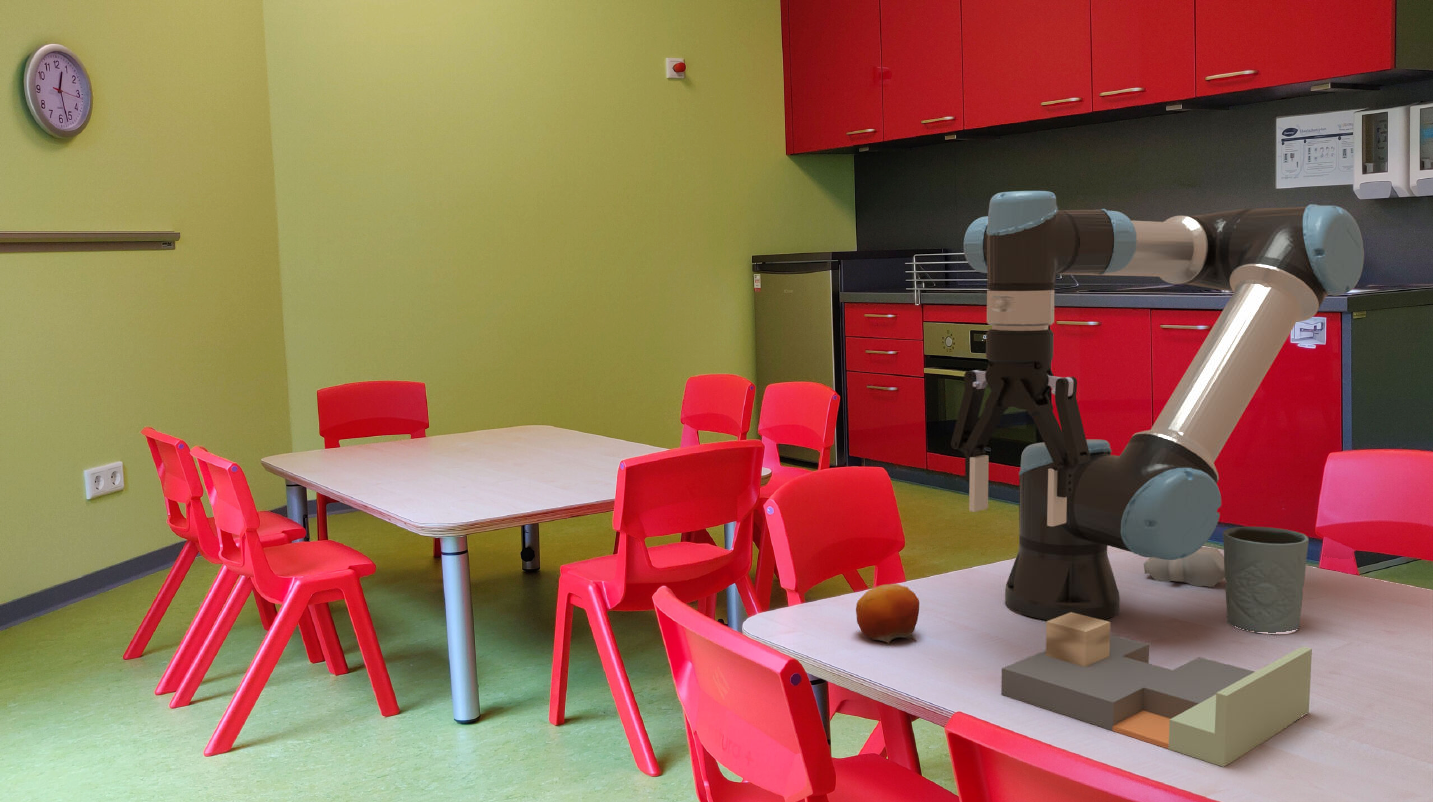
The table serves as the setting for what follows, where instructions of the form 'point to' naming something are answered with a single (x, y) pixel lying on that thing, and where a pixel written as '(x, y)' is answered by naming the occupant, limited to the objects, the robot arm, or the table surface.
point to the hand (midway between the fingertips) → (1016, 516)
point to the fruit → (888, 612)
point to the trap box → (1170, 697)
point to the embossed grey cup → (1264, 577)
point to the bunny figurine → (1189, 568)
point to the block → (1077, 639)
